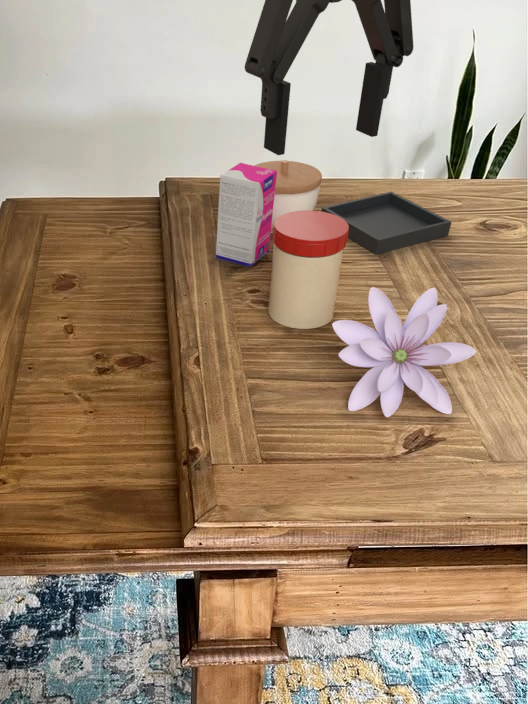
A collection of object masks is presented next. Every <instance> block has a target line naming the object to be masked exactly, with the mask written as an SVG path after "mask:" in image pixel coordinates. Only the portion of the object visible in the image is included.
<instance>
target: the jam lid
mask: <svg viewBox="0 0 528 704" xmlns="http://www.w3.org/2000/svg"><path fill="white" fill-rule="evenodd" d="M348 230H349V226H348V223H347V222H346V221H345V220H344V219H342V218H340V217H338V216H336V215H333V214H330V213H326V212H321V210H314V211H294V212H289V213H286V214H283V215H281V216H279V217H278V218H277V219H276V220H275V222H274V228H273V233H271V239H272V243H273V245H274V244H275V245H276V246H277V247H278V248H279V249H281V250H283V251H285V252H287V253H290V254H294V255H298V256H306V257H321V256H328V255H332V254H335V253H338V252H340V251H341V250H343V249H345V248H346V246H347V243H348V240H349V238H348V233H349V231H348Z"/></svg>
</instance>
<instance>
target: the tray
mask: <svg viewBox="0 0 528 704" xmlns="http://www.w3.org/2000/svg"><path fill="white" fill-rule="evenodd" d="M320 211H321V212H326V213H330V214H333V215H336V216H338V217H340V218H342V219H344V220H345V221H346V222H347V223H348V226H349V230H348V231H349V233H348V240H351V241H352V242H353V243H356V244H357V245H359V246H361V247H362V248H364V249H365V250H367V251H369V252H370V253H372V254H374V255H380V254H384V253H388V252H392V251H395V250H400V249H404V248H406V247H409V246H410V247H411V246H414V245H418V244H422V243H425V242H430V241H434V240H437V239H441V238H444V237H448V236H449V234H450V233H449V232H450V229H451V226H452V221H451V220H449V219H447V218H444V216H441V215H439V214H437V213H435V212H433V211H431V210H429V209H427V208H425V207H423V206H421V205H419V204H417V203H415V202H413V201H411V200H409V199H408V198H405V197H403V196H401V195H399V194H397V193H396V192H394V191H388V192H384V193H383V192H382V193H380V194H375V195H371V196H366V197H362V198H358V199H354V200H353V199H352V200H348V201H344V202H340V203H336V204H331V205H327V206H323V207H321V210H320Z"/></svg>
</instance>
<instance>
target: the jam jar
mask: <svg viewBox="0 0 528 704" xmlns="http://www.w3.org/2000/svg"><path fill="white" fill-rule="evenodd" d="M344 249H345V248H344ZM344 249H343V250H341V251H340V252H338V253H335V254H332V255H328V256H321V257H306V256H298V255H294V254H290V253H287V252H285V251H283V250H281V249H279V248H278V247H277V246H276V245H275V244H274V243H273V250H272V261H271V272H270V283H269V284H270V285H269V294H268V295H269V297H268V306H267V312H268V316H269V317H270V318H271V320H273V322H275V323H277V324H279V325H281V326H284V327H287V328H292V329H296V330H297V329H298V330H312V329H317V328H321V327H324V326H325V325H328V324H329V323H330V322H331V321H332V320H333V319H334V314H335V308H336V303H337V302H336V301H337V295H338V289H339V284H340V283H339V282H340V276H341V270H342V262H343V256H344Z"/></svg>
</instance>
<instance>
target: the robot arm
mask: <svg viewBox="0 0 528 704" xmlns="http://www.w3.org/2000/svg"><path fill="white" fill-rule="evenodd" d="M293 1H294V0H264V3H263V6H262V10H261V13H260V15H259V19H258V22H257V26H256V29H255V32H254V35H253V38H252V41H251V44H250V47H249V51H248V54H247V56H246V60H245V63H244V71H245V72H246V73H247V74H249V75H252V76H254V77H256V78H259V79H260V80H261V95H260V98H261V99H260V108H259V109H260V115H261V116H262V117H263V118H265V122H264V123H265V124H264V136H263V137H264V138H263V140H264V141H263V149H265V150H267V151H269V152H271V153H273V154H274V155H276V156H282V155H285V152H286V140H287V130H288V120H289V108H290V107H289V106H290V97H291V86H292V84H291V82H289V81H287V80H285V78H286V76H287V74H288V72H289V71H290V69H291V67H292V65H293V63H294V61H295V59H296V57H297V56H298V54H299V52H300V50H301V49H302V47H303V44H304V43H305V42H306V39H307V37H308V35H309V34H310V32H311V30H312V28H313V27H314V24H315V23H316V21H317V19H318V17H319V16H320V15H321V14H322V13H323V12H324V11H326V9H327V8H328V6H329V4H334V3H335V4H336V3H340V2H342V1H343V0H295V4H294V5H293ZM351 1H352V2H353V4H354V5H355V8H356V11H357V13H358V17H359V20H360V23H361V26H362V29H363V31H364V34H365V37H366V40H367V43H368V47H369V49H370V52H371V55H372V59H373V60H374V61H375V62H374V61H369V62H365V66H364V72H363V79H362V86H361V93H360V99H359V100H360V101H359V105H358V114H357V120H356V125H355V126H356V127H355V131H357V132H360V133H361V134H364V135H366V136H368V137H371V138H374V137H378V135H379V134H378V133H379V128H380V122H381V117H382V110H383V104H384V100H385V99H387V98H388V96H389V93H390V88H391V81H392V76H393V70H394V68H399V67H401V65H402V64H403V62H404V57H409V56H411V55H412V54H413V51H414V34H413V33H414V32H413V18H412V17H413V16H412V4H411V0H383V1H382V0H351ZM383 4H384V5H383ZM292 5H293V7H292ZM291 8H292V9H291Z"/></svg>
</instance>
